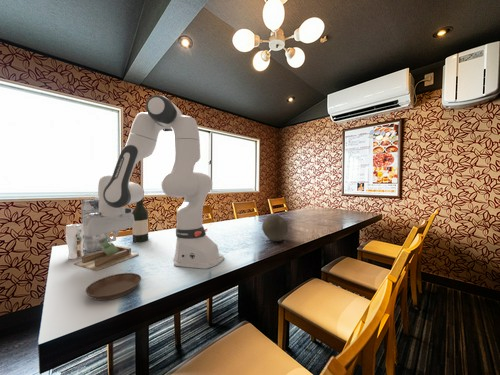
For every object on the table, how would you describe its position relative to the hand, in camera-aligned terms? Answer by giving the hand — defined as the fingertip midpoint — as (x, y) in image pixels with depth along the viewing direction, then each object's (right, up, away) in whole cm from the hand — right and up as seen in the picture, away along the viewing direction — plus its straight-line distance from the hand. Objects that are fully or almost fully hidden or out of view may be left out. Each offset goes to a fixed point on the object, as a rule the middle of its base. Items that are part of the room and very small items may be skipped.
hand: (111, 241), depth 92 cm
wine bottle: (-2, -7, +28) cm, 29 cm away
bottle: (0, -6, +1) cm, 6 cm away
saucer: (+20, -9, -27) cm, 35 cm away
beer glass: (-18, -8, +2) cm, 20 cm away
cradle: (-1, -8, -1) cm, 8 cm away
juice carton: (-17, -8, +13) cm, 23 cm away
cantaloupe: (+78, -7, +24) cm, 81 cm away
